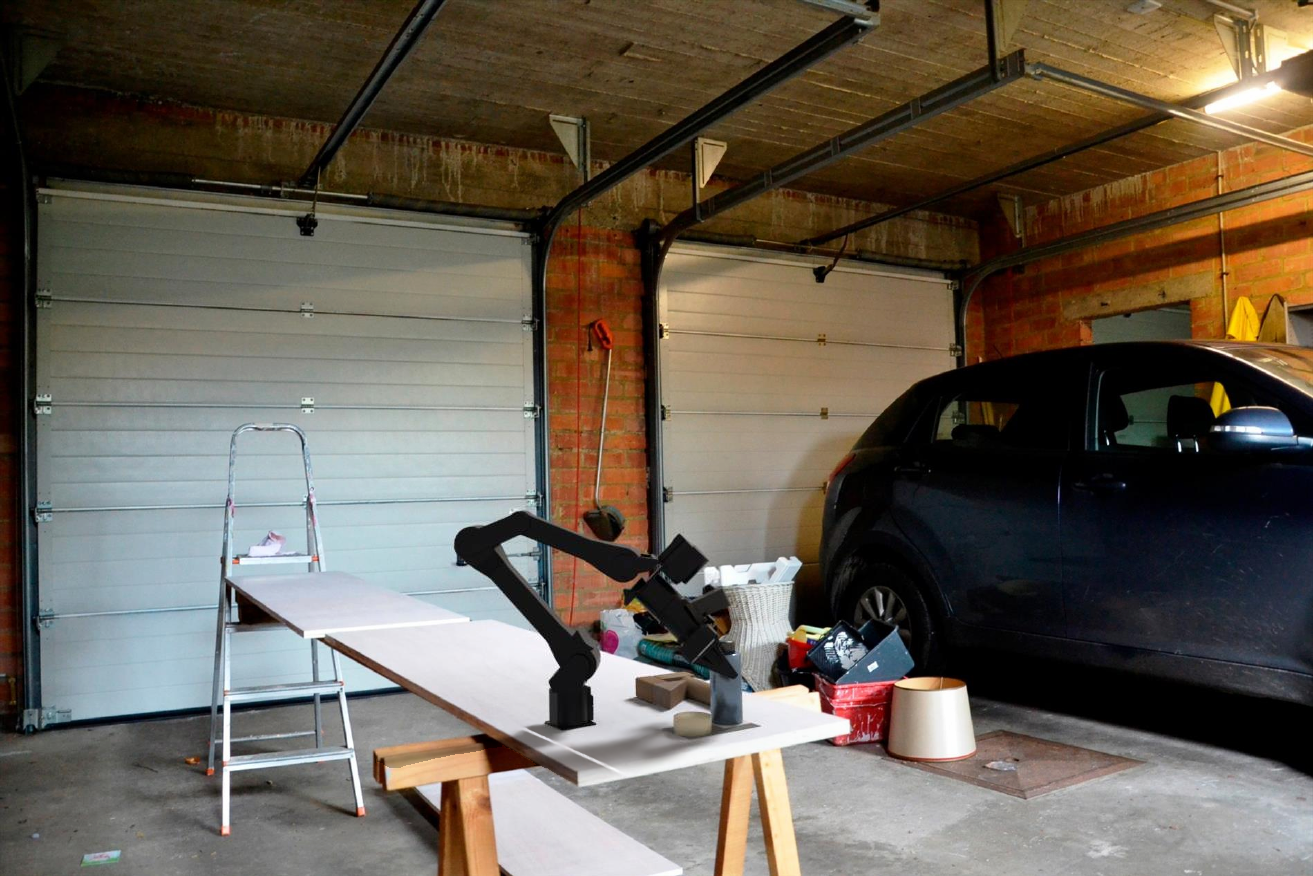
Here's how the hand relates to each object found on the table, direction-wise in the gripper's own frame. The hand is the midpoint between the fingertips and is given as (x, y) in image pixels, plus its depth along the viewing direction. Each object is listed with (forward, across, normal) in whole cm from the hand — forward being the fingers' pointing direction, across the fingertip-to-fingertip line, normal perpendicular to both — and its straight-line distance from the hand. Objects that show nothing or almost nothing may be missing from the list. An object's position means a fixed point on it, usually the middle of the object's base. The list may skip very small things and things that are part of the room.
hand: (735, 672), depth 164 cm
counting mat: (+3, -3, +9) cm, 10 cm away
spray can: (+5, 0, +7) cm, 8 cm away
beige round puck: (+1, -6, +11) cm, 12 cm away
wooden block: (-4, +25, +14) cm, 29 cm away
